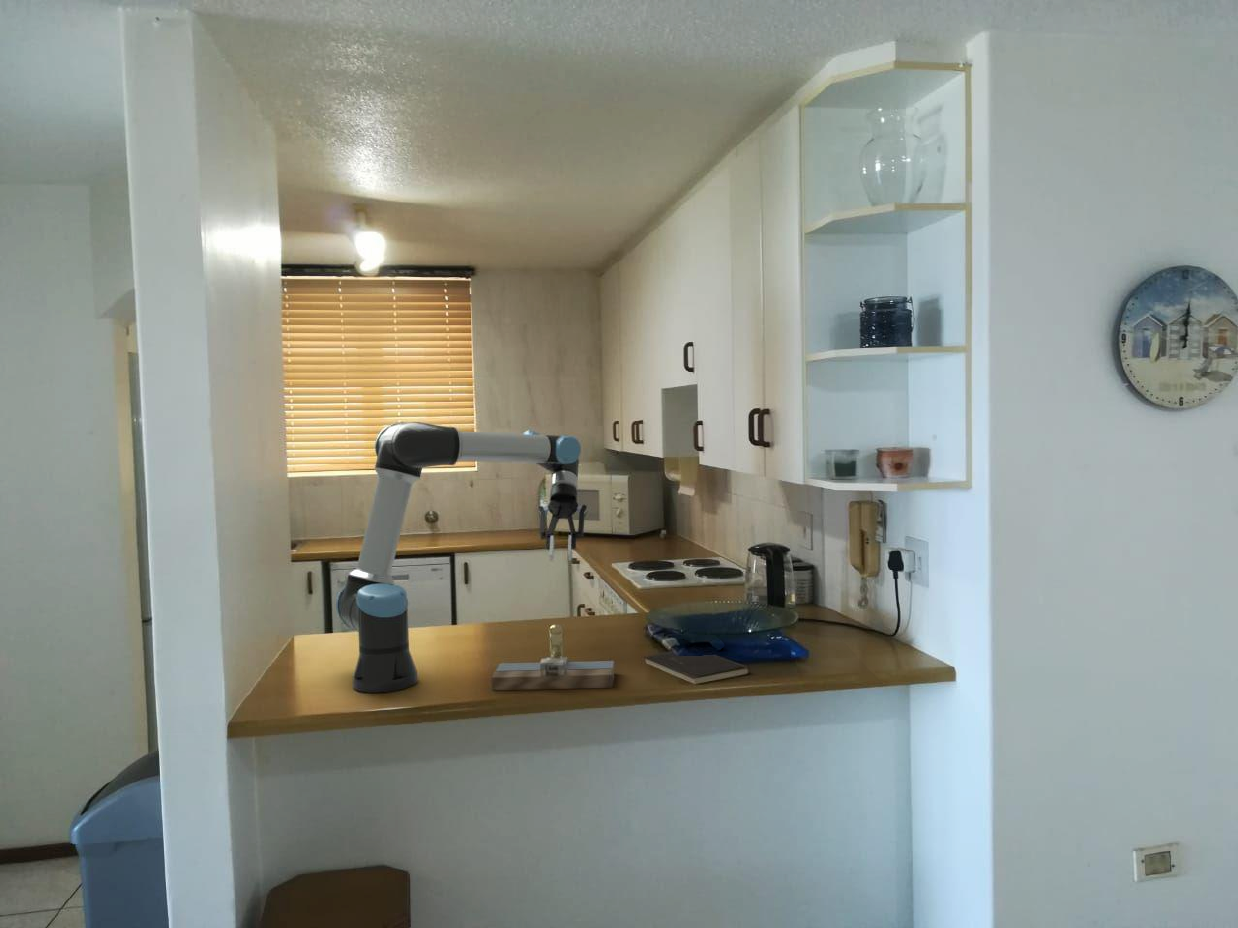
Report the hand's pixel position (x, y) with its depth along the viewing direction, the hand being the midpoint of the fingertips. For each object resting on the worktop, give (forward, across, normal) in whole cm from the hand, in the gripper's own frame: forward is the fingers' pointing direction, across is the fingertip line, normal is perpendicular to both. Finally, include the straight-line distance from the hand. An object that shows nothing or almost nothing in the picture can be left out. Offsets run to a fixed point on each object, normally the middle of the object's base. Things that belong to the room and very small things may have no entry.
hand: (560, 557), depth 233 cm
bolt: (+30, 0, -2) cm, 30 cm away
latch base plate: (+33, 0, -4) cm, 33 cm away
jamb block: (+37, 0, 0) cm, 37 cm away
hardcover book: (+29, -34, -9) cm, 46 cm away
